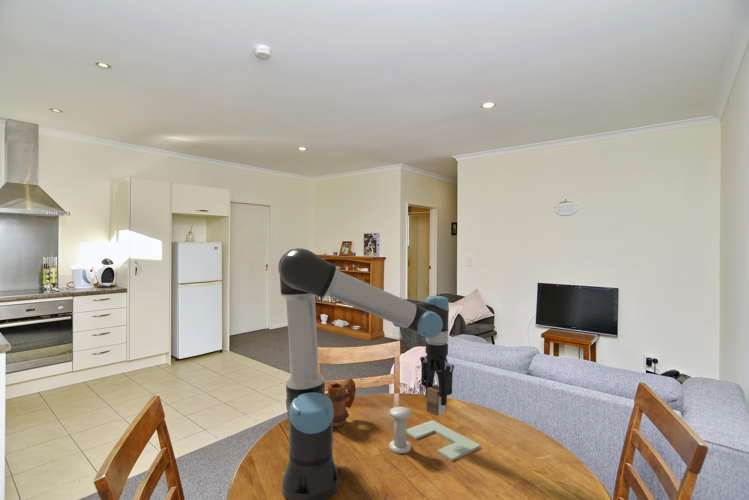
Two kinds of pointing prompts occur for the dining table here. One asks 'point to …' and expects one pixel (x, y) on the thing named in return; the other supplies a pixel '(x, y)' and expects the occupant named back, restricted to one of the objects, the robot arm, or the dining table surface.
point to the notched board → (453, 450)
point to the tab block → (433, 400)
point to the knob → (400, 430)
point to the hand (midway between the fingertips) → (435, 411)
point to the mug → (341, 399)
